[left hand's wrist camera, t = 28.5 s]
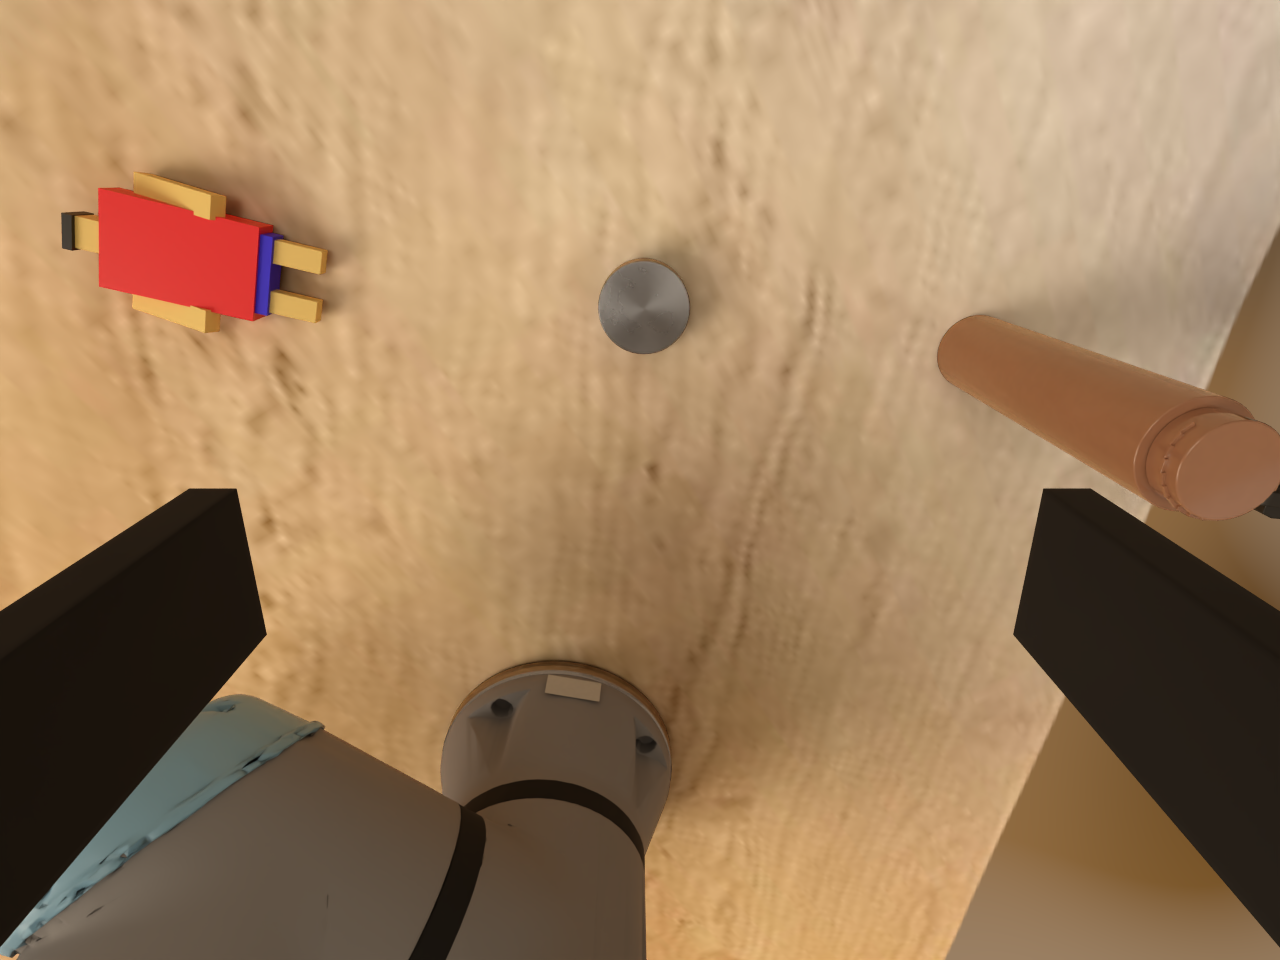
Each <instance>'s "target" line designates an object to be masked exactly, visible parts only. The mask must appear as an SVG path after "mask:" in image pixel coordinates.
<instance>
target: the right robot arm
mask: <svg viewBox="0 0 1280 960" xmlns="http://www.w3.org/2000/svg"><path fill="white" fill-rule="evenodd" d="M1254 510H1256V511H1258V512H1260V513H1262V514H1264V515H1266V516H1268V517H1270V518H1276V519H1280V484H1279V486H1278V488H1277V490H1276V491H1274V492H1273V493H1272V494H1271V495H1270V496H1269V497H1268V498H1267V499H1266V500H1265V501H1264V502H1263V503H1262V504H1260V505H1259V506H1258V507H1256V508H1255V509H1254Z"/></svg>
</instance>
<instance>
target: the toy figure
mask: <svg viewBox="0 0 1280 960" xmlns="http://www.w3.org/2000/svg"><path fill="white" fill-rule="evenodd" d="M98 202H99V216H96V215H94V214H93V213H89V212H67V213H61V217H62V248H63V249H67V250H80V249H82V250H86V251H90V252H95V253H99V287H104V288H108V289H112V290H117V291H121V292H126V293H130V294H133V302H132V308H133V309H136V310H139V311H142V312H145V313H148V314H151V315H154V316H157V317H160V318H163V319H165V320H168V321H171V322H174V323H177V324H180V325H183V326H186V327H189V328H192V329H195V330H197V331H200V332H203V333H209V332H218V331H219V330H220V314H223V315H227V316H232V317H236V318H240V319H245V320H249V321H255V320H257V319H260V318H262V317H265V316H268V315H270V314H278V315H282V316H286V317H291V318H295V319H299V320H304V321H308V322H313V323H316V322H318V321H320V320H321V313H322V303H323V300H322V299H317V298H313V297H309V296H305V295H300V294H296V293H292V292H287V291H283V290H279V288H280V275H281V265H282V266H286V267H290V268H294V269H299V270H303V271H307V272H311V273H315V274H323V273H326V262H327V252H328V250H324V249H320V248H316V247H312V246H308V245H304V244H300V243H295V242H291V241H287V240H283V237H284V235H279V234H275V233H273V225H269V224H265V223H261V222H257V221H253V220H249V219H245V218H241V217H237V216H233V215H229V214H225V213H226V196H223V195H220V194H216V193H213V192H210V191H206V190H203V189H200V188H196V187H193V186H190V185H186V184H183V183H180V182H177V181H173V180H170V179H167V178H163V177H160V176H157V175H153V174H149V173H140V172H134V191H131V190H127V189H123V188H98Z"/></svg>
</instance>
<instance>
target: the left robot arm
mask: <svg viewBox="0 0 1280 960" xmlns="http://www.w3.org/2000/svg"><path fill="white" fill-rule="evenodd" d="M266 635H267V633H266V629H265V624H264V619H263V614H262V609H261V604H260V600H259V595H258V590H257V585H256V580H255V575H254V571H253V566H252V561H251V556H250V551H249V546H248V542H247V537H246V532H245V527H244V522H243V517H242V513H241V508H240V503H239V498H238V493H237V489H188V490H187V491H185V492H183V493H182V494H180V495H179V496H177V497H176V498H174V499H173V500H171V501H170V502H168V503H167V504H165V505H163V506H162V507H160V508H159V509H157V510H156V511H154V512H153V513H151V514H150V515H148V516H146V517H145V518H143V519H142V520H140V521H139V522H137V523H136V524H134V525H133V526H131V527H129V528H128V529H126V530H125V531H123V532H122V533H120V534H119V535H117V536H116V537H114V538H113V539H111V540H109V541H108V542H106V543H105V544H103V545H102V546H100V547H99V548H97V549H96V550H94V551H92V552H91V553H89V554H88V555H86V556H85V557H83V558H82V559H80V560H79V561H77V562H76V563H74V564H72V565H71V566H69V567H68V568H66V569H65V570H63V571H62V572H60V573H59V574H57V575H55V576H54V577H52V578H51V579H49V580H48V581H46V582H45V583H43V584H42V585H40V586H39V587H37V588H35V589H34V590H32V591H31V592H29V593H28V594H26V595H25V596H23V597H22V598H20V599H18V600H17V601H15V602H14V603H12V604H11V605H9V606H8V607H6V608H5V609H3V610H2V611H0V954H1V955H3V956H7V957H11V958H13V957H14V956H15V955H16V954H19V956H18V958H17V960H646V919H645V854H646V851H647V849H648V846H649V844H650V841H651V838H652V836H653V833H654V831H655V828H656V826H657V823H658V821H659V818H660V815H661V813H662V810H663V808H664V805H665V802H666V800H667V796H668V792H669V786H670V780H671V748H670V742H669V737H668V733H667V730H666V728H665V725H664V723H663V721H662V719H661V717H660V715H659V713H658V712H657V711H656V709H655V708H654V706H653V705H652V704H651V703H650V701H649V700H648V699H647V698H646V697H645V696H644V695H643V694H642V693H641V692H640V691H638V690H637V689H636V688H635V687H633V686H632V685H631V684H629V683H628V682H626V681H624V680H623V679H621V678H619V677H617V676H615V675H613V674H612V673H609V672H607V671H604V670H602V669H599V668H596V667H592V666H589V665H584V664H580V663H573V662H563V661H545V662H536V663H529V664H525V665H520V666H517V667H514V668H510V669H508V670H505V671H503V672H500V673H498V674H496V675H495V676H493V677H491V678H489V679H488V680H486V681H485V682H483V683H482V684H480V685H479V686H478V687H477V688H475V689H474V690H473V691H472V692H471V693H470V694H469V695H468V696H467V697H466V698H465V700H464V701H463V702H462V703H461V705H460V706H459V708H458V709H457V711H456V713H455V715H454V717H453V719H452V721H451V724H450V727H449V730H448V733H447V736H446V738H445V741H444V746H443V752H442V760H441V783H442V794H441V793H439V792H437V791H435V790H433V789H431V788H430V787H428V786H426V785H424V784H422V783H420V782H419V781H417V780H415V779H413V778H411V777H409V776H408V775H406V774H404V773H402V772H400V771H398V770H397V769H395V768H393V767H391V766H389V765H387V764H386V763H384V762H382V761H380V760H378V759H376V758H374V757H373V756H371V755H369V754H367V753H365V752H363V751H362V750H360V749H358V748H356V747H354V746H352V745H351V744H349V743H347V742H345V741H343V740H341V739H340V738H338V737H336V736H334V735H332V734H330V733H329V732H327V731H325V730H324V728H325V726H324V725H323V724H322V723H320V722H318V721H312V722H308V721H306V720H304V719H302V718H300V717H297V716H295V715H293V714H291V713H289V712H287V711H285V710H283V709H281V708H278V707H276V706H274V705H272V704H270V703H268V702H266V701H264V700H261V699H259V698H257V697H254V696H250V695H242V694H236V695H229V696H225V697H221V698H218V699H216V700H213V701H211V699H212V698H213V697H214V696H215V695H216V693H217V692H218V691H219V690H220V689H221V688H222V686H223V685H224V684H225V683H226V682H227V681H228V679H229V678H230V677H231V676H232V675H233V674H234V672H235V671H236V670H237V669H238V668H239V666H240V665H241V664H242V663H243V662H244V661H245V659H246V658H247V657H248V656H249V655H250V654H251V652H252V651H253V650H254V649H255V648H256V647H257V645H258V644H259V643H260V642H261V641H262V640H263V638H264V637H265V636H266ZM1013 635H1014V636H1015V637H1016V638H1017V640H1018V641H1019V642H1020V643H1021V644H1022V645H1023V647H1024V648H1025V649H1026V650H1027V651H1028V652H1029V654H1030V655H1031V656H1032V657H1033V658H1034V659H1035V661H1036V662H1037V663H1038V664H1039V665H1040V666H1041V668H1042V669H1043V670H1044V671H1045V672H1046V674H1047V675H1048V676H1049V677H1050V678H1051V679H1052V681H1053V682H1054V683H1055V684H1056V685H1057V686H1058V688H1059V689H1060V690H1061V691H1062V692H1063V693H1064V695H1065V696H1066V697H1067V698H1068V699H1069V701H1070V702H1071V703H1072V704H1073V705H1074V706H1075V708H1076V709H1077V710H1078V711H1079V712H1080V713H1081V715H1082V716H1083V717H1084V718H1085V719H1086V720H1087V722H1088V723H1089V724H1090V725H1091V726H1092V727H1093V729H1094V730H1095V731H1096V732H1097V733H1098V735H1099V736H1100V737H1101V738H1102V739H1103V740H1104V742H1105V743H1106V744H1107V745H1108V746H1109V747H1110V749H1111V750H1112V751H1113V752H1114V753H1115V755H1116V756H1117V757H1118V758H1119V759H1120V760H1121V762H1122V763H1123V764H1124V765H1125V766H1126V767H1127V769H1128V770H1129V771H1130V772H1131V773H1132V774H1133V776H1134V777H1135V778H1136V779H1137V780H1138V782H1139V783H1140V784H1141V785H1142V786H1143V787H1144V789H1145V790H1146V791H1147V792H1148V793H1149V794H1150V796H1151V797H1152V798H1153V799H1154V800H1155V801H1156V803H1157V804H1158V805H1159V806H1160V807H1161V809H1162V810H1163V811H1164V812H1165V813H1166V814H1167V816H1168V817H1169V818H1170V819H1171V820H1172V821H1173V823H1174V824H1175V825H1176V826H1177V827H1178V828H1179V830H1180V831H1181V832H1182V833H1183V834H1184V836H1185V837H1186V838H1187V839H1188V840H1189V841H1190V842H1191V844H1192V845H1193V846H1194V847H1195V848H1196V850H1197V851H1198V852H1199V853H1200V854H1201V855H1202V857H1203V858H1204V859H1205V860H1206V861H1207V863H1208V864H1209V865H1210V866H1211V867H1212V868H1213V870H1214V871H1215V872H1216V873H1217V874H1218V875H1219V877H1220V878H1221V879H1222V880H1223V881H1224V882H1225V884H1226V885H1227V886H1228V887H1229V888H1230V889H1231V891H1232V892H1233V893H1234V894H1235V895H1236V896H1237V898H1238V899H1239V900H1240V901H1241V902H1242V904H1243V905H1244V906H1245V907H1246V908H1247V909H1248V911H1249V912H1250V913H1251V914H1252V915H1253V916H1254V918H1255V919H1256V920H1257V921H1258V922H1259V924H1260V925H1261V926H1262V927H1263V928H1264V929H1265V931H1266V932H1267V933H1268V934H1269V935H1270V936H1271V938H1272V939H1273V940H1274V941H1275V942H1276V943H1277V945H1278V946H1279V947H1280V611H1278V610H1277V609H1275V608H1274V607H1272V606H1271V605H1269V604H1268V603H1266V602H1265V601H1263V600H1262V599H1260V598H1258V597H1257V596H1255V595H1254V594H1252V593H1251V592H1249V591H1248V590H1246V589H1245V588H1243V587H1241V586H1240V585H1238V584H1237V583H1235V582H1234V581H1232V580H1231V579H1229V578H1228V577H1226V576H1225V575H1223V574H1221V573H1220V572H1218V571H1217V570H1215V569H1214V568H1212V567H1211V566H1209V565H1208V564H1206V563H1204V562H1203V561H1201V560H1200V559H1198V558H1197V557H1195V556H1194V555H1192V554H1191V553H1189V552H1187V551H1186V550H1184V549H1183V548H1181V547H1180V546H1178V545H1177V544H1175V543H1174V542H1172V541H1171V540H1169V539H1167V538H1166V537H1164V536H1163V535H1161V534H1160V533H1158V532H1157V531H1155V530H1154V529H1152V528H1150V527H1149V526H1147V525H1146V524H1144V523H1143V522H1141V521H1140V520H1138V519H1137V518H1135V517H1134V516H1132V515H1130V514H1129V513H1127V512H1126V511H1124V510H1123V509H1121V508H1120V507H1118V506H1117V505H1115V504H1113V503H1112V502H1110V501H1109V500H1107V499H1106V498H1104V497H1103V496H1101V495H1100V494H1098V493H1097V492H1095V491H1093V490H1092V489H1043V493H1042V498H1041V503H1040V508H1039V513H1038V517H1037V522H1036V527H1035V532H1034V537H1033V542H1032V546H1031V551H1030V556H1029V561H1028V566H1027V571H1026V575H1025V580H1024V585H1023V590H1022V595H1021V600H1020V604H1019V609H1018V614H1017V619H1016V624H1015V629H1014V633H1013ZM210 701H211V702H210Z"/></svg>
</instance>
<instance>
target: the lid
mask: <svg viewBox="0 0 1280 960" xmlns="http://www.w3.org/2000/svg"><path fill="white" fill-rule="evenodd" d="M598 311H599V318H600V322H601V325H602V327H603V329H604V331H605V333H606V334H607V335H608V337H609V338H610V339H611V340H612V341H613V342H614V343H615V344H616V345H618V346H619V347H621V348H622V349H624V350H626V351H629V352H632V353H637V354H651V353H656V352H659V351H661V350H664V349H666V348H667V347H669V346H670V345H672V344H673V343H674V342H675V341H676V340H677V339H678V338H679V337H680V336H681V334H682V333H683V331H684V329H685V327H686V325H687V322H688V318H689V313H690V302H689V296H688V293H687V290H686V288H685V286H684V284H683V282H682V280H681V278H680V277H679V275H678V274H677V273H676V272H675V271H674V270H673V269H672V268H671V267H669V266H668V265H666V264H664V263H662V262H660V261H657V260H654V259H647V258H641V259H634V260H631V261H628V262H626V263H624V264H622V265H620V266H619V267H617V268H616V269H615V270H614V271H613V272H612V273H611V274H610V275H609V277H608V278H607V280H606V281H605V284H604V286H603V288H602V290H601V294H600V297H599V304H598Z"/></svg>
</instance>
